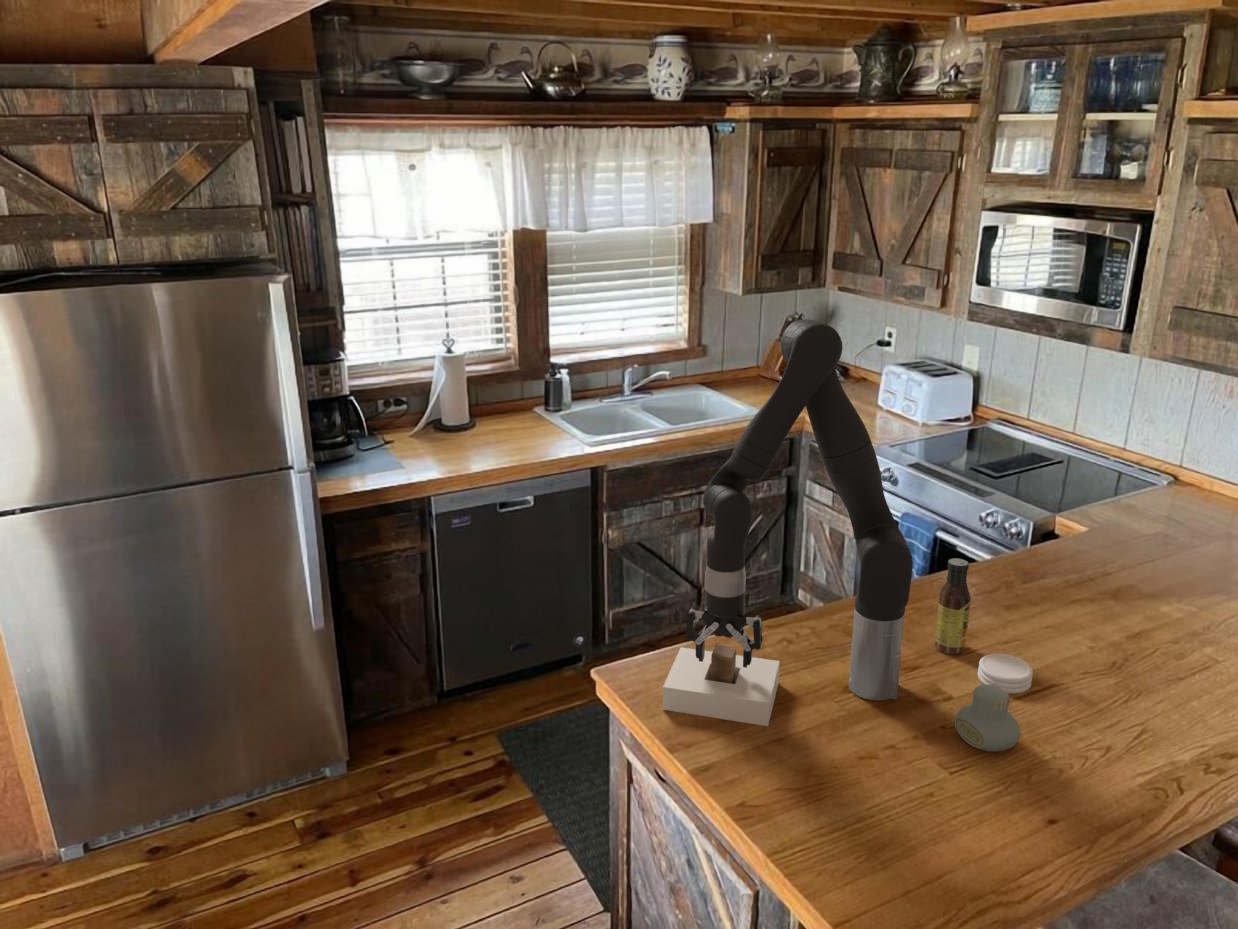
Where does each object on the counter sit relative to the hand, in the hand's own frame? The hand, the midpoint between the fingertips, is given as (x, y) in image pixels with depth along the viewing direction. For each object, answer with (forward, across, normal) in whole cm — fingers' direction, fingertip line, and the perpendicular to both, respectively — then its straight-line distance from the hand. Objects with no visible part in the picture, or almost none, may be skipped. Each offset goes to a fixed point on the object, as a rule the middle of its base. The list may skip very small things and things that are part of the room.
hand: (723, 662), depth 179 cm
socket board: (+8, 0, 0) cm, 8 cm away
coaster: (+8, -53, -20) cm, 57 cm away
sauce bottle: (+8, -43, -30) cm, 53 cm away
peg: (+8, 0, 0) cm, 8 cm away
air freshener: (+8, -48, +2) cm, 49 cm away
